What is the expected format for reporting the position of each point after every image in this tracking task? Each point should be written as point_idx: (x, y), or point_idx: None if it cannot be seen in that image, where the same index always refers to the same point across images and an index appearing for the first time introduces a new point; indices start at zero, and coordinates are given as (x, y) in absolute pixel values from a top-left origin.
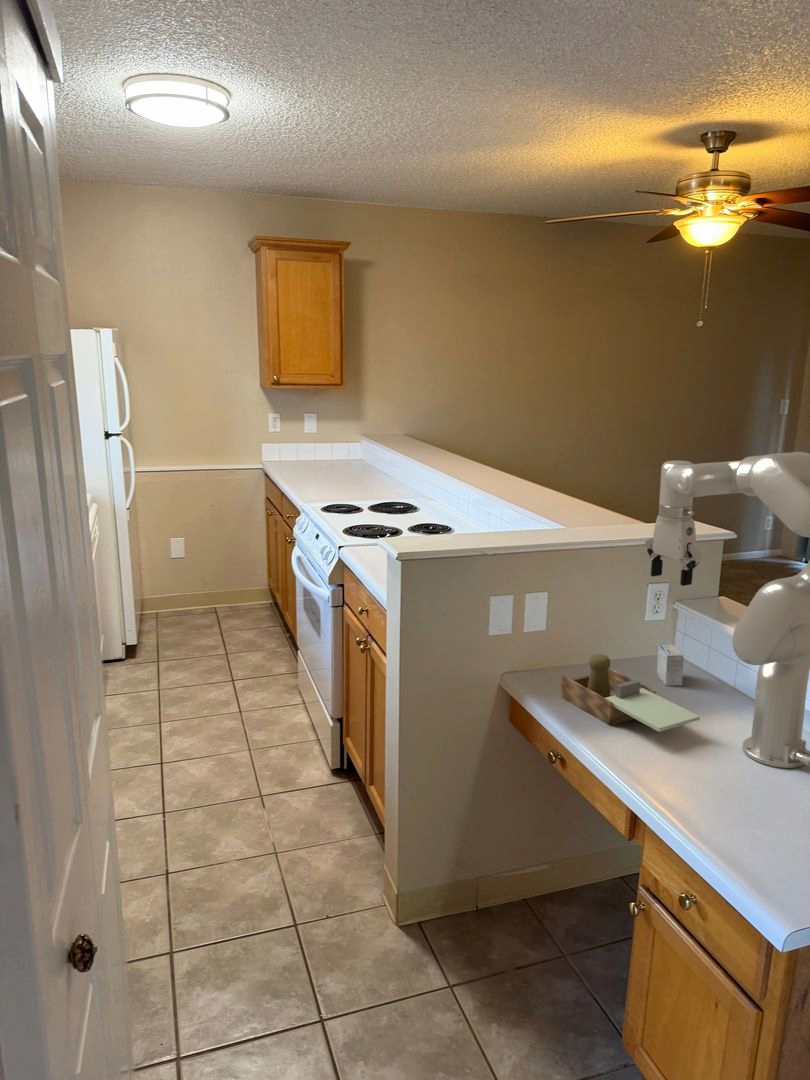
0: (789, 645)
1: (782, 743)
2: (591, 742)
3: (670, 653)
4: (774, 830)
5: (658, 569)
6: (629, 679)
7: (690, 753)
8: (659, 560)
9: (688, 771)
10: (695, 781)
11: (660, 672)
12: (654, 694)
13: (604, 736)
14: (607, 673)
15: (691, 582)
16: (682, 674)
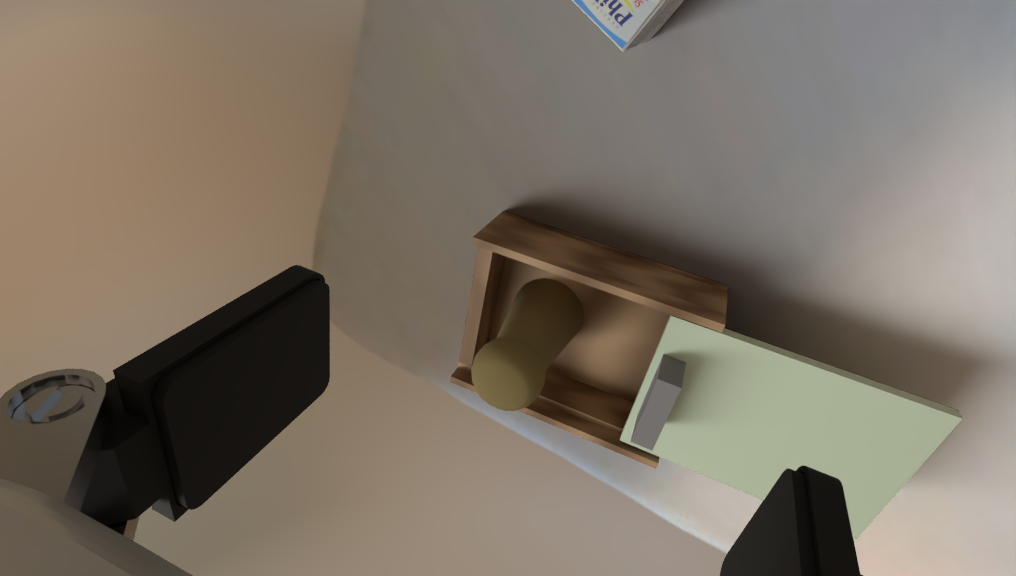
0: None
1: None
2: (679, 506)
3: (620, 13)
4: None
5: (275, 369)
6: (600, 289)
7: (942, 456)
8: (156, 433)
9: (969, 538)
10: (1005, 572)
11: None
12: (731, 340)
13: (687, 471)
14: (546, 351)
15: (839, 496)
16: None
